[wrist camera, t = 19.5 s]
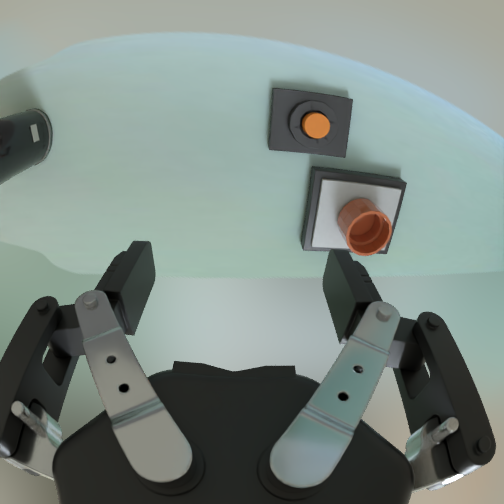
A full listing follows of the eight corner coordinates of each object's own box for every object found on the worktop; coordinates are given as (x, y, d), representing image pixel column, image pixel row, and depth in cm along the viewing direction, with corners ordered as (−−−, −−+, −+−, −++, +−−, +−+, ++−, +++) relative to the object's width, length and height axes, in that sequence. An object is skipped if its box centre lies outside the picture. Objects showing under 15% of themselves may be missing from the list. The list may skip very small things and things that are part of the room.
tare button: (300, 134, 31) (303, 136, 30) (302, 110, 30) (305, 111, 28) (324, 137, 31) (328, 139, 30) (327, 114, 30) (331, 115, 28)
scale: (300, 243, 42) (303, 252, 40) (312, 166, 36) (316, 171, 34) (382, 247, 43) (388, 256, 41) (400, 178, 36) (408, 184, 34)
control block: (268, 148, 35) (270, 152, 32) (272, 88, 30) (274, 87, 28) (342, 155, 35) (349, 160, 32) (349, 98, 31) (357, 99, 28)
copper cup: (332, 237, 39) (341, 254, 35) (341, 194, 35) (352, 208, 31) (372, 239, 39) (384, 256, 35) (382, 199, 36) (397, 213, 32)
